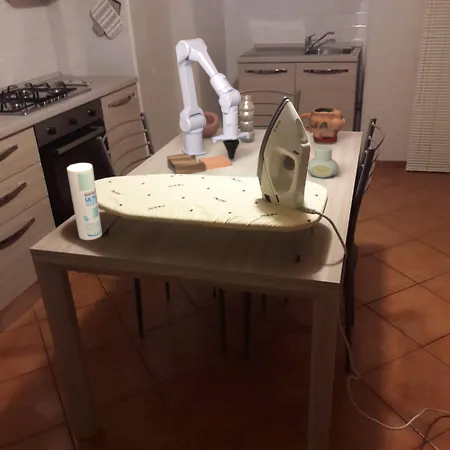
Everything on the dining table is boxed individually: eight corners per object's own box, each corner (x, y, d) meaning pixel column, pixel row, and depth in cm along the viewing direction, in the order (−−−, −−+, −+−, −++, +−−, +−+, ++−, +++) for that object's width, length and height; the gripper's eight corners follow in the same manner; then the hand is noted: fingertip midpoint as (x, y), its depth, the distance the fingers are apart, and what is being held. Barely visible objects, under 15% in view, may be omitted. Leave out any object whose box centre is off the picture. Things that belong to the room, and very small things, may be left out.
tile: (198, 164, 194) (198, 158, 193) (222, 161, 198) (222, 155, 196) (206, 171, 187) (206, 164, 186) (231, 167, 191) (230, 161, 190)
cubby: (167, 166, 191) (166, 156, 190) (195, 162, 195) (194, 152, 193) (176, 176, 182) (175, 164, 180) (205, 171, 186) (204, 160, 184)
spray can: (91, 242, 136) (80, 172, 128) (73, 237, 139) (61, 168, 131) (107, 232, 141) (97, 164, 133) (89, 228, 144) (79, 161, 136)
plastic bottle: (255, 143, 216) (255, 96, 208) (239, 143, 217) (238, 96, 208) (254, 139, 222) (254, 93, 214) (239, 139, 222) (238, 93, 214)
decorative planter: (296, 144, 213) (297, 112, 207) (298, 137, 223) (299, 105, 217) (344, 146, 209) (347, 113, 203) (344, 138, 220) (347, 106, 214)
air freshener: (338, 172, 181) (340, 145, 176) (336, 180, 174) (338, 152, 169) (308, 170, 184) (309, 143, 179) (305, 178, 176) (306, 150, 172)
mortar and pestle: (190, 139, 224) (189, 114, 219) (196, 132, 235) (195, 108, 230) (217, 140, 222) (216, 114, 217) (221, 133, 233) (220, 108, 228)
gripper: (216, 128, 182) (217, 164, 188) (252, 123, 187) (252, 158, 193) (209, 124, 188) (210, 159, 194) (244, 119, 193) (245, 153, 199)
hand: (231, 158), depth 194 cm, fingers closed
